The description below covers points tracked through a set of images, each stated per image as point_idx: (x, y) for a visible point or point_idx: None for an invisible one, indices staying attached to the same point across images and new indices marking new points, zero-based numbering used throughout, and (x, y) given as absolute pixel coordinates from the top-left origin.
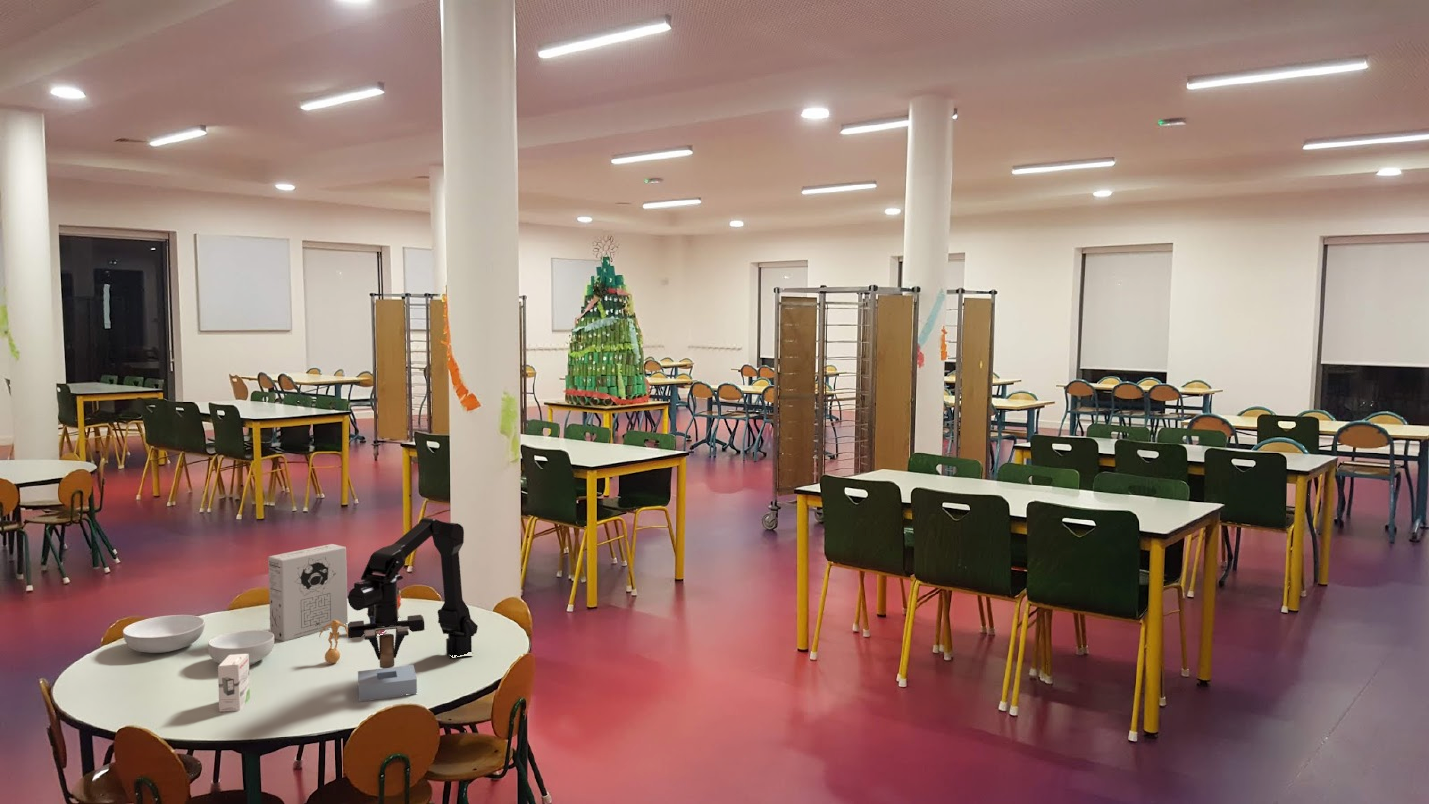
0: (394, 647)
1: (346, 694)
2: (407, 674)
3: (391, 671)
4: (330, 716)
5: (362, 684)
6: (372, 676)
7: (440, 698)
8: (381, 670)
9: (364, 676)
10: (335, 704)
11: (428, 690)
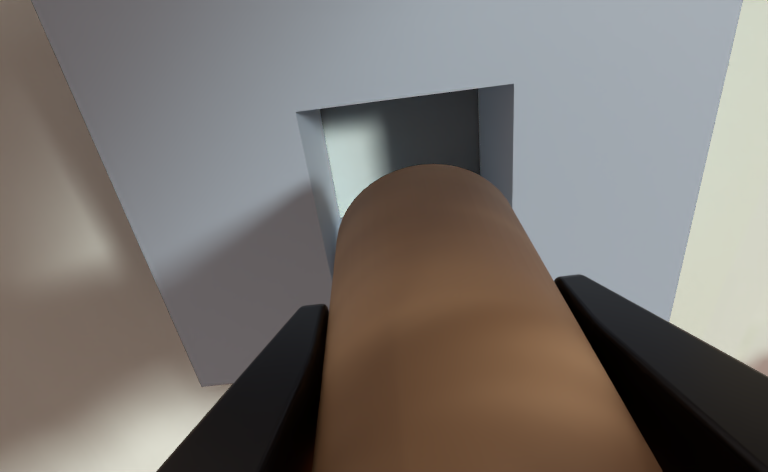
0: (643, 434)
1: (88, 162)
2: (615, 219)
3: (460, 88)
4: (133, 445)
5: (221, 364)
6: (266, 205)
7: (725, 343)
8: (337, 28)
9: (178, 186)
10: (87, 317)
11: (699, 210)
